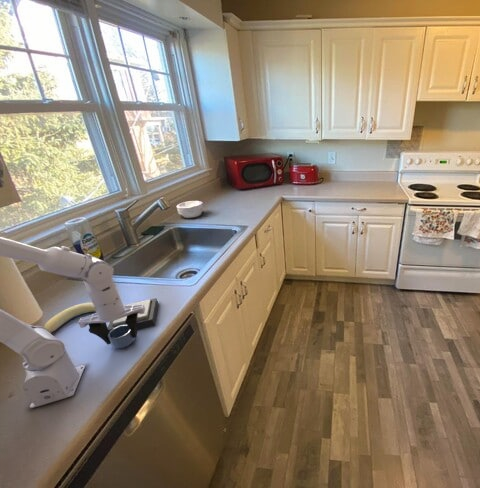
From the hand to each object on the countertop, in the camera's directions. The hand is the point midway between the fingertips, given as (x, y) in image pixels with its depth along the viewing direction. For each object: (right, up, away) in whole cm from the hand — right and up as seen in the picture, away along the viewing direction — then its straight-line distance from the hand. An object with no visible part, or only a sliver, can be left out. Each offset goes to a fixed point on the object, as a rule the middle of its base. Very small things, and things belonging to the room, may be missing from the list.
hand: (122, 338), depth 80 cm
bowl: (0, -1, +1) cm, 1 cm away
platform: (-3, +5, +10) cm, 11 cm away
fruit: (-23, +2, +10) cm, 25 cm away
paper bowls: (-27, +45, +99) cm, 111 cm away
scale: (-3, +3, +10) cm, 11 cm away
